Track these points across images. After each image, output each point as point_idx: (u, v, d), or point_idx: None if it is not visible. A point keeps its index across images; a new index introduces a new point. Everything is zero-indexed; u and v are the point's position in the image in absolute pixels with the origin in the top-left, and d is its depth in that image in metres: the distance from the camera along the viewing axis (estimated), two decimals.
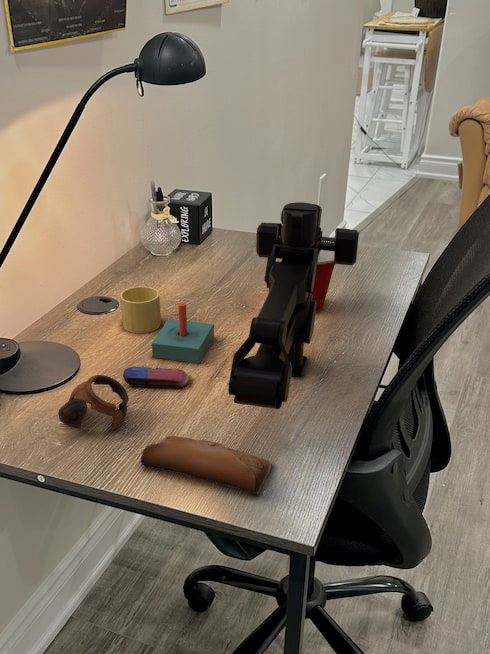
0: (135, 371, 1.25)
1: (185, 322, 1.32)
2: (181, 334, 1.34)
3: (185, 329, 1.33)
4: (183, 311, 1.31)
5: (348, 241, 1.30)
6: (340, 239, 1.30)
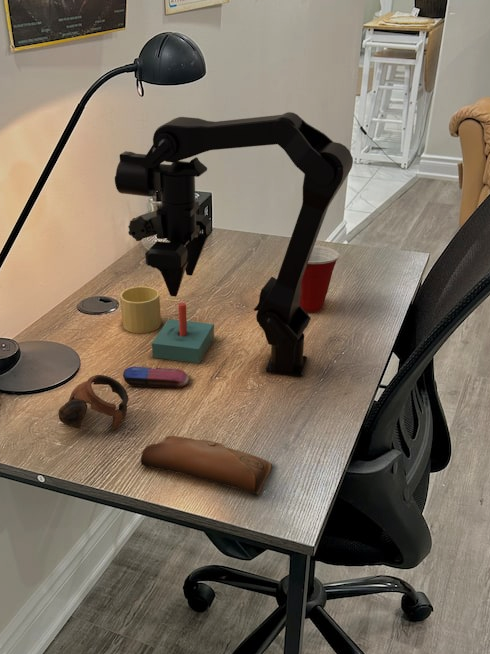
0: (135, 371, 1.25)
1: (185, 322, 1.32)
2: (181, 334, 1.34)
3: (185, 329, 1.33)
4: (183, 311, 1.31)
5: None
6: None
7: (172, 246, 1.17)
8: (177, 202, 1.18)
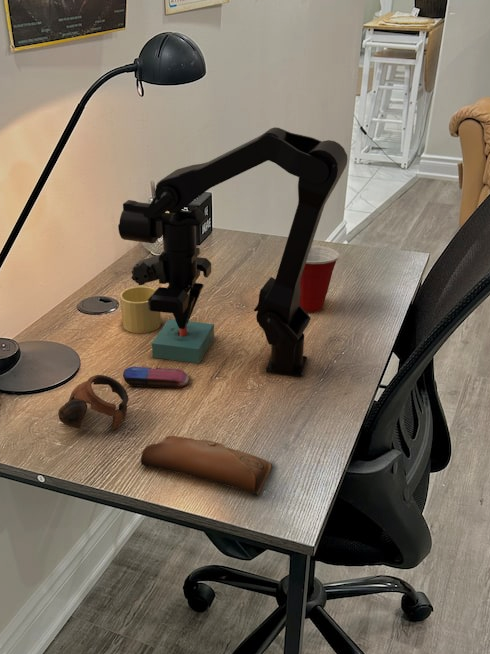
0: (135, 371, 1.25)
1: None
2: (181, 334, 1.34)
3: (185, 329, 1.33)
4: None
5: None
6: None
7: (174, 292, 1.22)
8: (179, 250, 1.22)
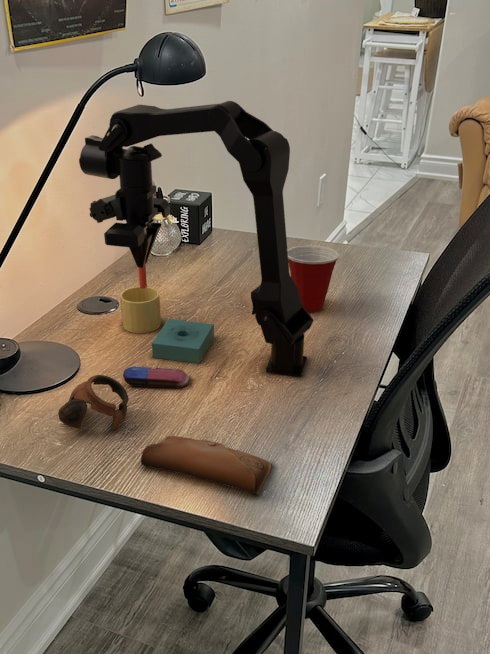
0: (135, 371, 1.25)
1: None
2: (140, 273, 1.36)
3: (144, 268, 1.35)
4: None
5: None
6: None
7: (129, 227, 1.24)
8: (131, 185, 1.25)
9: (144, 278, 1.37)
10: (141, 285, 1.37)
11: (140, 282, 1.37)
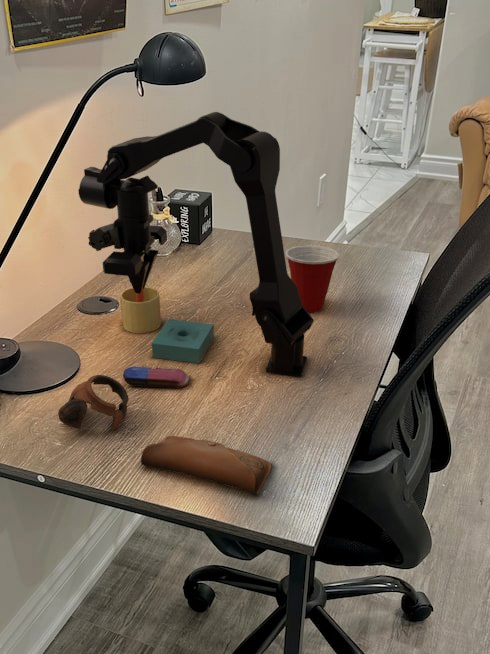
0: (135, 371, 1.25)
1: None
2: (138, 299, 1.40)
3: (141, 294, 1.40)
4: None
5: None
6: None
7: (127, 256, 1.28)
8: (129, 215, 1.29)
9: None
10: None
11: None
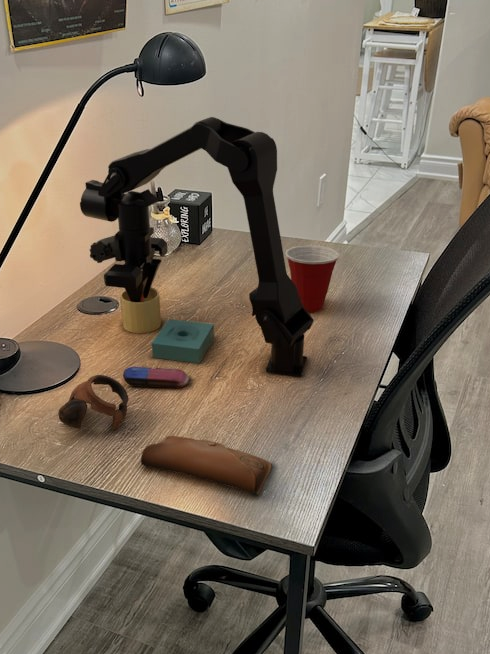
0: (135, 371, 1.25)
1: (142, 297, 1.40)
2: None
3: None
4: None
5: None
6: None
7: (128, 268, 1.30)
8: (129, 228, 1.30)
9: None
10: None
11: None
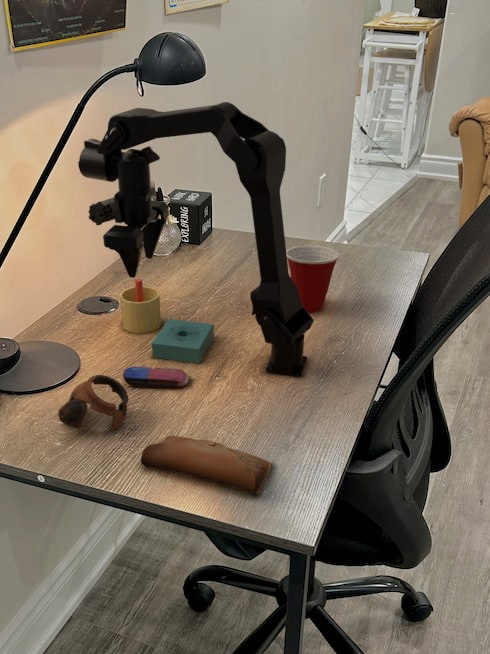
0: (135, 371, 1.25)
1: (142, 297, 1.40)
2: None
3: None
4: (139, 287, 1.39)
5: None
6: None
7: (128, 229, 1.25)
8: (130, 188, 1.25)
9: None
10: None
11: None
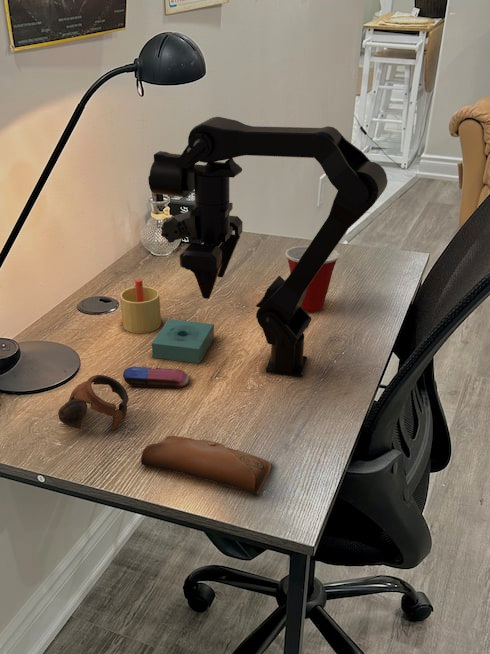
0: (135, 371, 1.25)
1: (142, 297, 1.40)
2: None
3: None
4: (139, 287, 1.39)
5: None
6: None
7: (207, 248, 1.16)
8: (211, 203, 1.16)
9: None
10: None
11: None
